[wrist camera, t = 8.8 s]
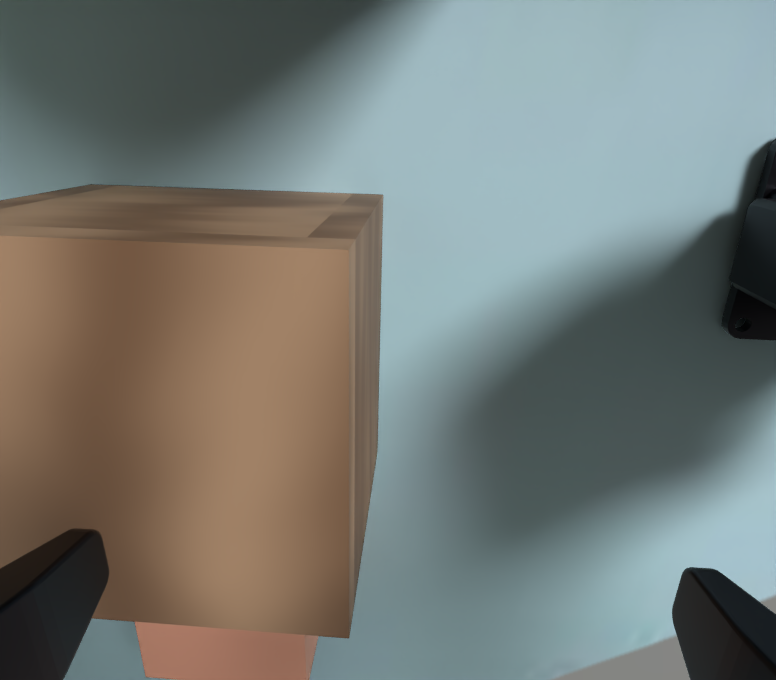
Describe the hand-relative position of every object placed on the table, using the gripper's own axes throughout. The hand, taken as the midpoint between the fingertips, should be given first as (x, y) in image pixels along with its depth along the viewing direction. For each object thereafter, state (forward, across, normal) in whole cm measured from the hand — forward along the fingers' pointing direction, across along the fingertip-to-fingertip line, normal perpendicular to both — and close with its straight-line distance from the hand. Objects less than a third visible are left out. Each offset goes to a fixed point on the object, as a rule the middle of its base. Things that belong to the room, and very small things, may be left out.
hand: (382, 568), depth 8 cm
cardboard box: (+12, +6, +1) cm, 13 cm away
